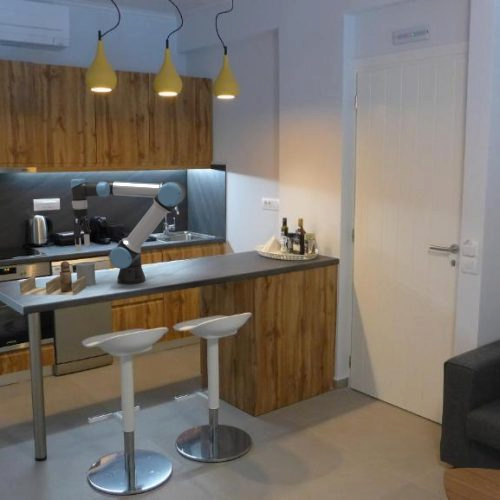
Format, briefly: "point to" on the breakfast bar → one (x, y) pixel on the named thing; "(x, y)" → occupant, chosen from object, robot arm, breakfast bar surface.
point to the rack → (50, 287)
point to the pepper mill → (65, 277)
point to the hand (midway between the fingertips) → (83, 248)
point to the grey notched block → (86, 272)
